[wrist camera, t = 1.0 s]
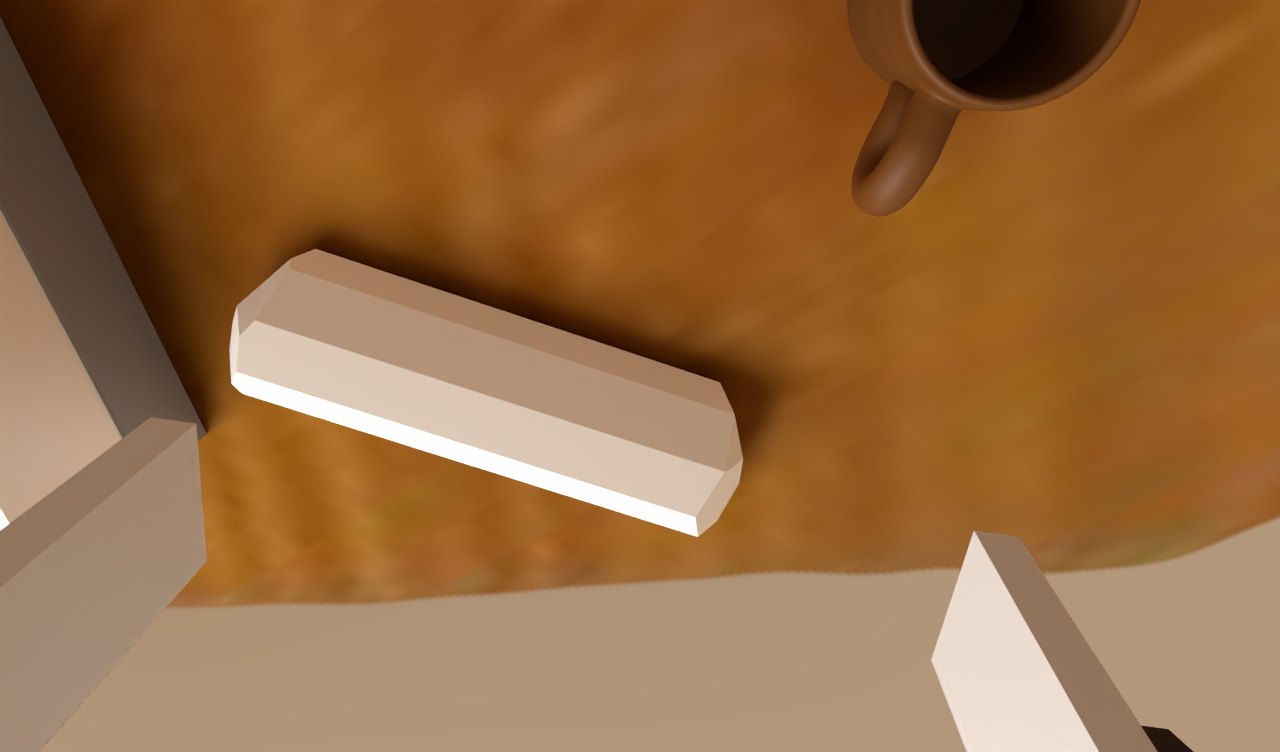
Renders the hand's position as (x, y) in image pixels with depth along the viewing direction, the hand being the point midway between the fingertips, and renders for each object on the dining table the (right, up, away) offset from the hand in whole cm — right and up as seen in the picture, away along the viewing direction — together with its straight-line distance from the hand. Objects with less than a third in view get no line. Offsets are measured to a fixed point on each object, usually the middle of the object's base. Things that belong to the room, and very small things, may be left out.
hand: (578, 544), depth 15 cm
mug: (+12, +16, +21) cm, 29 cm away
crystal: (-6, +3, +28) cm, 28 cm away
